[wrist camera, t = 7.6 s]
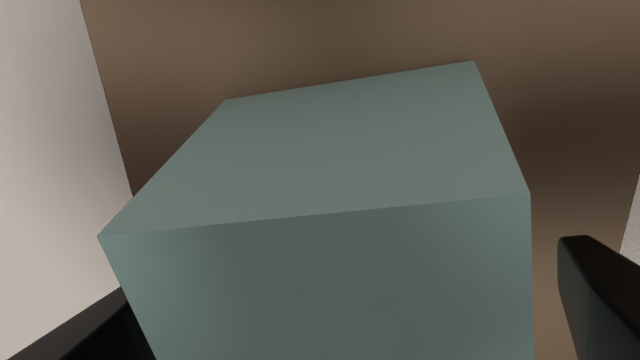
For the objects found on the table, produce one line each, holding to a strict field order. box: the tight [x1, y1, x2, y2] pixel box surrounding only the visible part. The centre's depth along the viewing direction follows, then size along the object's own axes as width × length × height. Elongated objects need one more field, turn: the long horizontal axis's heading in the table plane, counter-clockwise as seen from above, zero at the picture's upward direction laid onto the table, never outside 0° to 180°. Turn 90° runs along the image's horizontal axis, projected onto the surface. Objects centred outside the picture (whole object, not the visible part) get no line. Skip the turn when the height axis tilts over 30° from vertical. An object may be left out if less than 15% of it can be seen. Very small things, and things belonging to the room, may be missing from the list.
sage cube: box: [97, 60, 534, 360], centre depth 9 cm, size 5×5×5 cm
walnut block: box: [80, 0, 640, 360], centre depth 13 cm, size 11×11×5 cm
